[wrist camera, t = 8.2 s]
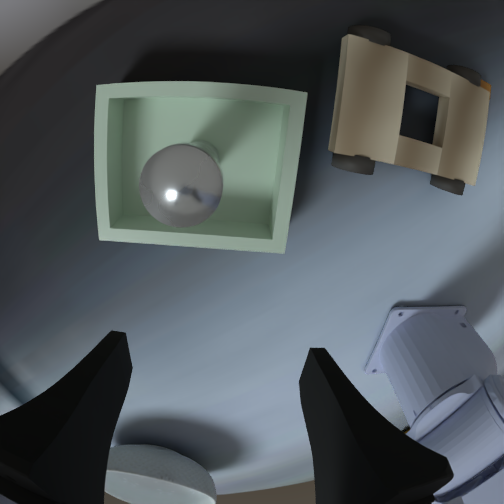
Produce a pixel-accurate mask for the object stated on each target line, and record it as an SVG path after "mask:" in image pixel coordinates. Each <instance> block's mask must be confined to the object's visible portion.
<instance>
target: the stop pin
mask: <svg viewBox="0 0 504 504" xmlns="http://www.w3.org/2000/svg"><path fill="white" fill-rule="evenodd" d="M223 186H224V177H223V171H222V168H221V165H220V164H219V153H218V151H217V149H216V147H215V146H214V145H213V144H211V143H210V142H208V141H204V140H198V141H194V142H192V143H189V142H180V143H175V144H171V145H169V146H167V147H165V148H163V149H161V150H160V151H158V152H156V153H155V154H154V155H152V156H151V157H150V159H149V160H148V161H147V162H146V164H145V165H144V167H143V169H142V172H141V175H140V179H139V192H140V197H141V200H142V202H143V204H144V206H145V208H146V209H147V211H148V212H149V213H150V214H151V215H152V216H153V217H154V218H155V219H157V220H158V221H160V222H161V223H163V224H166V225H168V226H172V227H179V228H184V227H191V226H195V225H198V224H200V223H202V222H203V221H205V220H206V219H208V218H209V217H210V216H211V215H212V214H213V213H214V212H215V210H216V209H217V207H218V205H219V203H220V200H221V197H222V192H223Z"/></svg>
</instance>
